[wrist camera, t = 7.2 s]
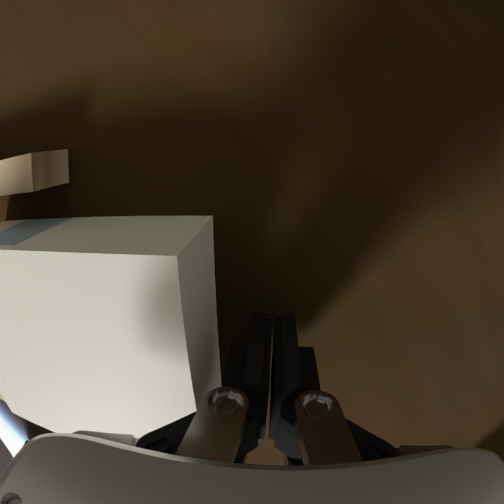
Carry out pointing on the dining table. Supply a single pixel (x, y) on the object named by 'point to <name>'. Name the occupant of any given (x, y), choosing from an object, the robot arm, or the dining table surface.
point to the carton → (107, 321)
